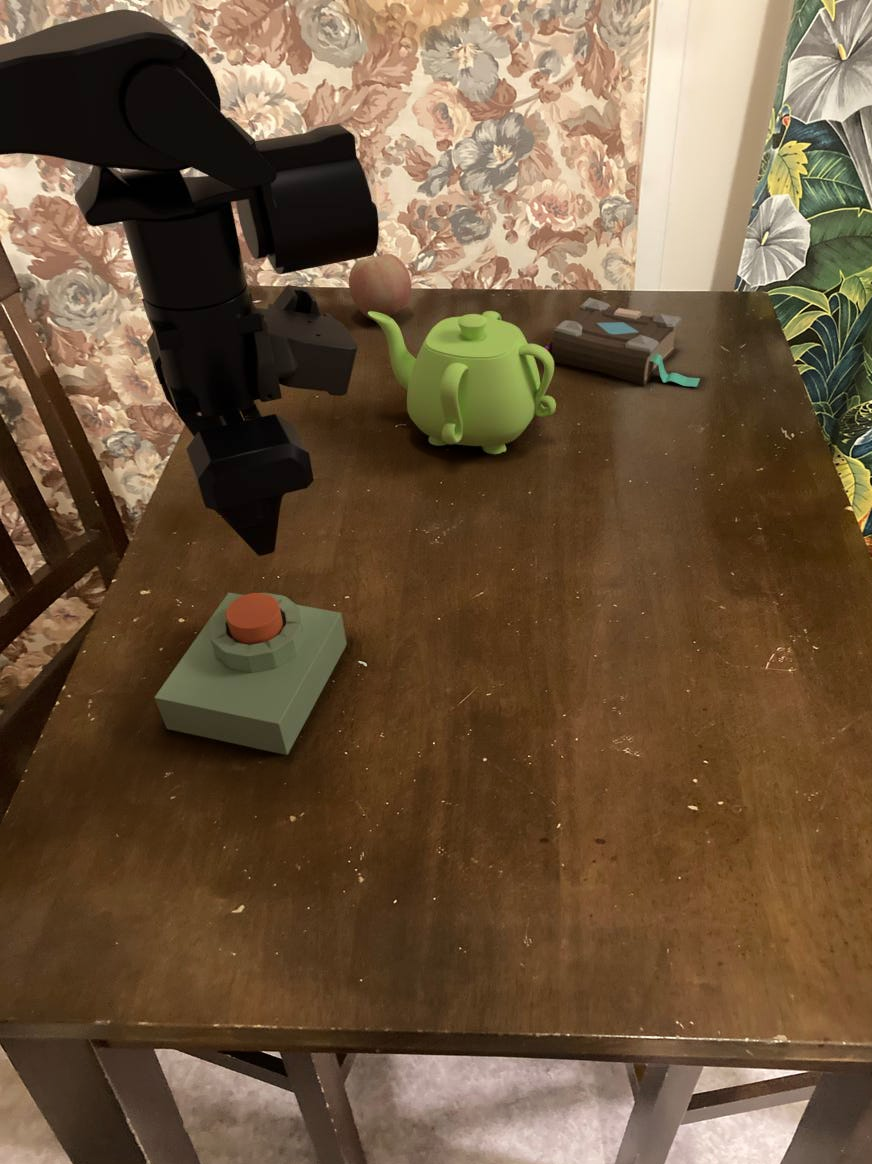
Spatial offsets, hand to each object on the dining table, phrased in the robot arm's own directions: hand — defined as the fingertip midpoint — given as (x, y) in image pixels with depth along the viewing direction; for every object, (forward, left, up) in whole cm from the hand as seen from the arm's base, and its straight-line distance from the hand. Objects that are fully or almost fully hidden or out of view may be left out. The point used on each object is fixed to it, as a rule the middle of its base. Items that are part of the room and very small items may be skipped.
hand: (249, 514), depth 61 cm
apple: (+54, +35, -16) cm, 66 cm away
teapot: (+38, +10, -16) cm, 42 cm away
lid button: (-1, +1, -11) cm, 11 cm away
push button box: (-2, +1, -16) cm, 16 cm away
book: (+62, +3, -16) cm, 64 cm away
